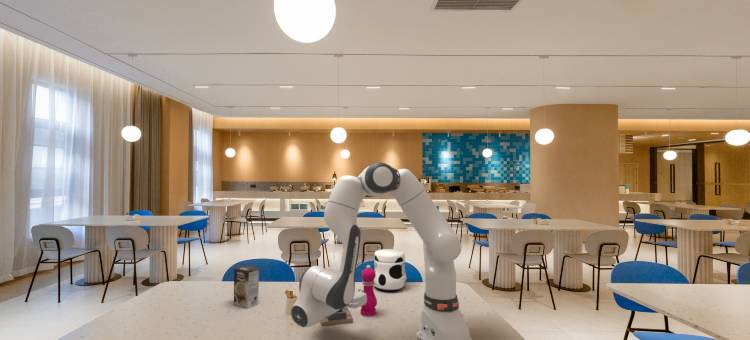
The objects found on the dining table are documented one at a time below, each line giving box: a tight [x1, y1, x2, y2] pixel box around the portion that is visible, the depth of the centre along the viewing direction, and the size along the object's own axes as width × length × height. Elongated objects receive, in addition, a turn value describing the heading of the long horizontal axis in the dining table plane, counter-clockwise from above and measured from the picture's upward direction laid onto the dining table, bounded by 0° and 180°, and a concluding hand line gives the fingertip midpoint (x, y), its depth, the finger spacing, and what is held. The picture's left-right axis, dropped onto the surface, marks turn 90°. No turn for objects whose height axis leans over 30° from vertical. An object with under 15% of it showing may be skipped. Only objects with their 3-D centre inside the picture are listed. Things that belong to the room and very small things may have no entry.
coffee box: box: [233, 265, 260, 309], centre depth 148 cm, size 9×6×16 cm
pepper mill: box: [360, 264, 378, 317], centre depth 139 cm, size 7×7×20 cm
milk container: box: [373, 248, 408, 292], centre depth 170 cm, size 17×17×18 cm
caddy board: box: [320, 307, 354, 327], centre depth 138 cm, size 20×12×4 cm, turn 16°
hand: (351, 289), depth 128 cm, fingers open, 8 cm apart
